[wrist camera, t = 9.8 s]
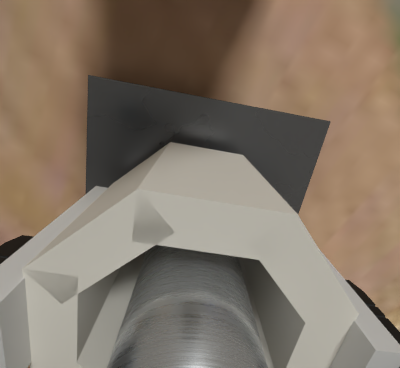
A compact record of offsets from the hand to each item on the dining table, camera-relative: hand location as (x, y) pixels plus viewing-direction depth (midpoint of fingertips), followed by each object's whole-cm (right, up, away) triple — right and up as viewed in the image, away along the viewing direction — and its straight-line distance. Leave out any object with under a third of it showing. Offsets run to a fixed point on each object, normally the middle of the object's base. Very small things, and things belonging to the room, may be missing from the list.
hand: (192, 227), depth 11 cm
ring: (0, 0, 0) cm, 0 cm away
